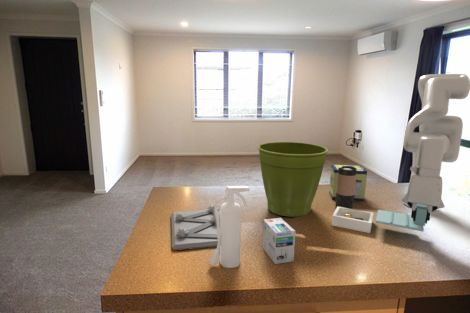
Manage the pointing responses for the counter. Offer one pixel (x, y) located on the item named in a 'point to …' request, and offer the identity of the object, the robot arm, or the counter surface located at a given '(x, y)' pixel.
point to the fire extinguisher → (229, 228)
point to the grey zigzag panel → (194, 229)
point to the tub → (353, 219)
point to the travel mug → (345, 187)
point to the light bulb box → (279, 240)
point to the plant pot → (291, 175)
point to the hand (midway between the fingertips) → (419, 220)
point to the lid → (404, 218)
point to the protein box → (359, 185)
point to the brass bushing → (348, 215)
